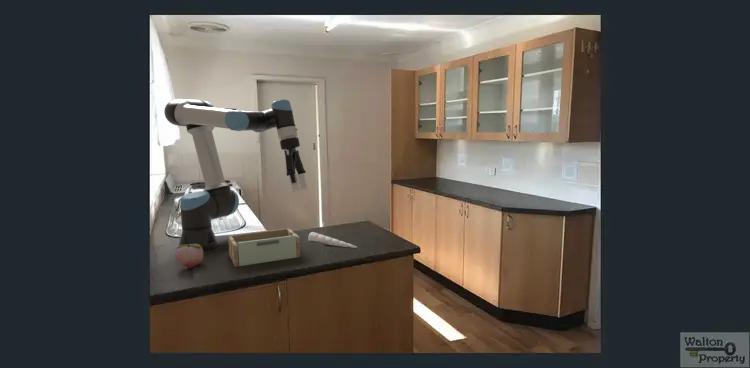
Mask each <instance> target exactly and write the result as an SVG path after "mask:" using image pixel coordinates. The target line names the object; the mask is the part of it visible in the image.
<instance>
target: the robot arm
mask: <svg viewBox="0 0 750 368" xmlns="http://www.w3.org/2000/svg"><path fill="white" fill-rule="evenodd" d="M163 114H164V117H165V119H166V120H167V122H169V123H170V124H171V125H174V126H179V127H185V128H186V131H187V133H188V134H190V135H191V136H192V141H193V144H194V147H195V152H196V155H197V160H198V162H199V167H200V171H201V175H202V178H203V182H204V186H205V187H204V188H203V190H201V191H200V190H199V191H195V192H194V191H193V192H189V193H186V194H184V195H182V196H181V198H180V200H179V209H180V219H181V221H180V222H181V235H180V239H179V243H178V247H179V246H181V245H184V244H189V242H190V244H199V245H200V246H201V247H202V250H203V252H204V251H210V250H212V249H215V248H217V246H218V240H217V237H216V235H215V233H214V230H213V228H212V227H213V226H212V221H213V220H217V219H220V218H223V217H228V216H230V215H233V214H234V213H236V211H237V209H238V208H239V206H240V205H239V204H240V198H239V195H238V193H237V192H236V191H235V190H234V189H231V186H230V184H229V183H228V182H226V180H225V176H224V173H223V169H222V165H221V164H222V163H221V161H220V158H219V153H218V149H217V145H216V142H215V137H214V134H213V130H214V129H215V128H220V129H227V130H230V131H235V132H241V131H253V132H255V133H261V132H263V133H264V132H265V131H268V130H272V129H274V128H276V131H277V136H278V140H279V145H280V150H283V151H284V156H285V158H284V159H285V167H286V176H287V177H288V176H289V182H290V186H291V189H292V192H293V193H295V192H299V191H302V190H306V189H308V184H307V181H306V176H305V174H306V170H305V168H304V165H303V163H302V160H301V157H300V152H299V150H297V149H296V148H299V147H300V146H301V145H300V144H301V143H300V139H299V137H298V129H299V128H298V127H297V126H296V124H295V118H294V117H295V116H294V114H293V109H292V105H291V103H290V100H288V99H278V100H274V101H272V102H271V108H269V109H266V110H263V111H254V110H253V111H252V110H251V111H250V110H249V111H248V110H238V109H237V110H236V109H229V108H228V109H227V108H221V107H218V108H217V107H214V105H213V104H212V103H210V102H209V101H206V100H202V99H188V98H187V99H185V98H184V99H183V98H176V99H172V100H170V101H169V102H167V104H166V105H165V108H164V113H163ZM296 172H297V173H296Z"/></svg>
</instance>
